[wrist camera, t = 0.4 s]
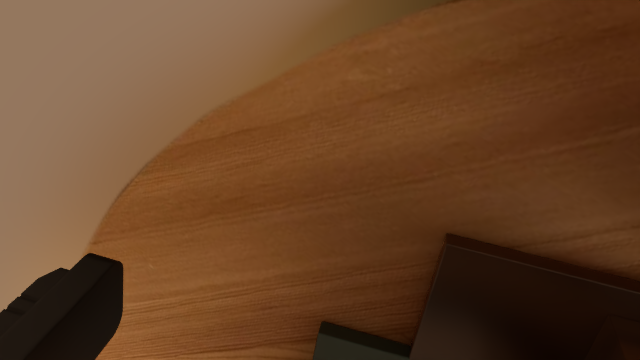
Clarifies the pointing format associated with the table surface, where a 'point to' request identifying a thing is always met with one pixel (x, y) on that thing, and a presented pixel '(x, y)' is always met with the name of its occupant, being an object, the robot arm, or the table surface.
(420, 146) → the table surface
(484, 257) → the dark wood pedestal stand
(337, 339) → the dark green pedestal stand
